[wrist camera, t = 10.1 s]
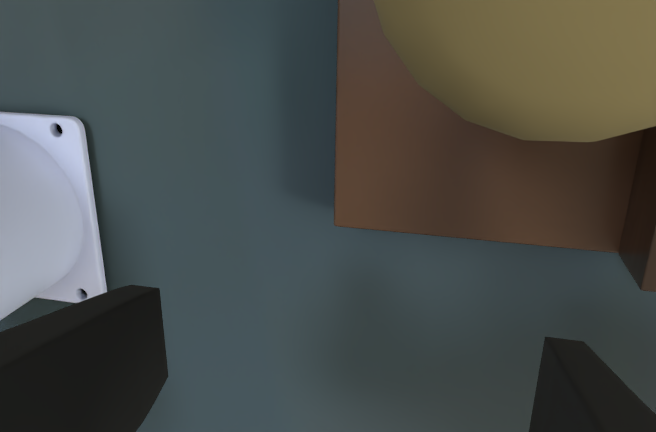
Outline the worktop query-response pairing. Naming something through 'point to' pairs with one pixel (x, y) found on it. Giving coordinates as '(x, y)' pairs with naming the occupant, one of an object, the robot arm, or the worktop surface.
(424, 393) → the worktop surface
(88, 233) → the robot arm
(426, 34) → the olive door knob
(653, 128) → the shelf
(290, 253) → the worktop surface
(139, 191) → the worktop surface
